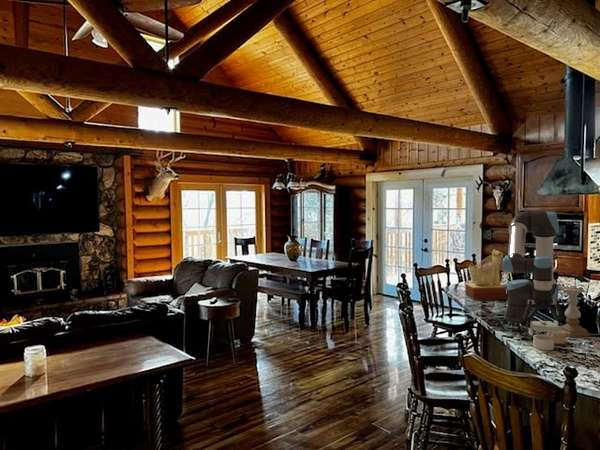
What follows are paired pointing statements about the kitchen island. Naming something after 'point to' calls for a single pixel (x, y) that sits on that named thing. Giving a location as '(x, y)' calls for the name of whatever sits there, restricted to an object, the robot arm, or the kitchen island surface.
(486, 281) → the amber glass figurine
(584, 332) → the candle holder
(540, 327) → the lid
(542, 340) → the bowl
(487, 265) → the decorative skull
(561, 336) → the block
